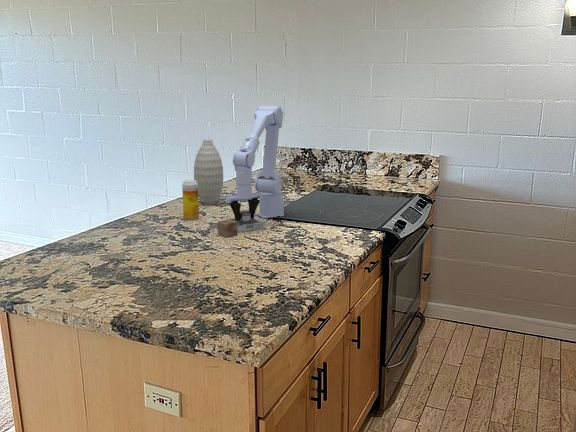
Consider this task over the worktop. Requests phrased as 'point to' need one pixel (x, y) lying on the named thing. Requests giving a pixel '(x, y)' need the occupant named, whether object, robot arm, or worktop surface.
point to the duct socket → (249, 225)
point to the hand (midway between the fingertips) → (244, 219)
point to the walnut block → (227, 228)
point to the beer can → (190, 199)
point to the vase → (208, 173)
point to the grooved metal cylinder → (245, 217)
